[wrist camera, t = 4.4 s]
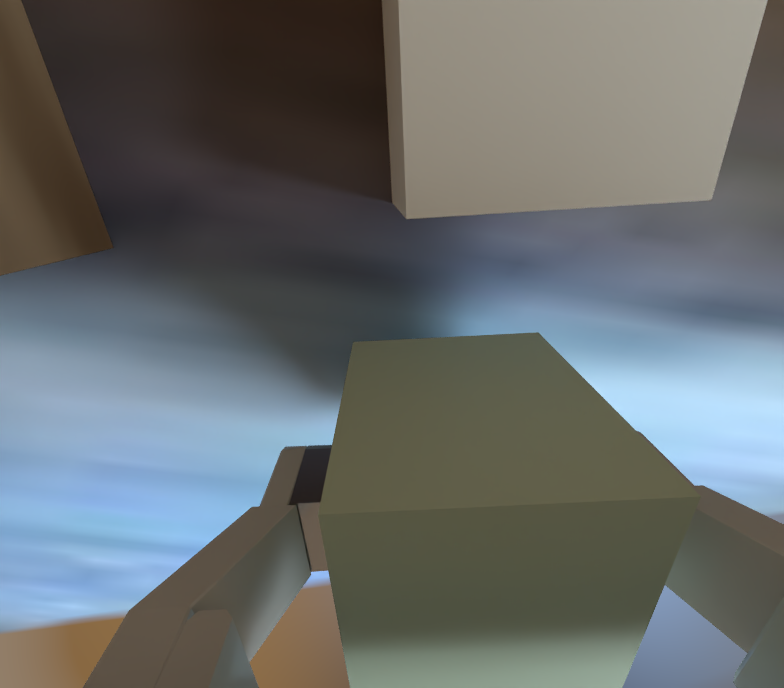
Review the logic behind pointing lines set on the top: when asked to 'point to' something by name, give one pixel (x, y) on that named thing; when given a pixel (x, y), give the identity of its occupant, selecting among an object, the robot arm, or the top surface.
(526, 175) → the cream cube
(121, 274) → the top surface
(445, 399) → the green cube
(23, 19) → the oak block
